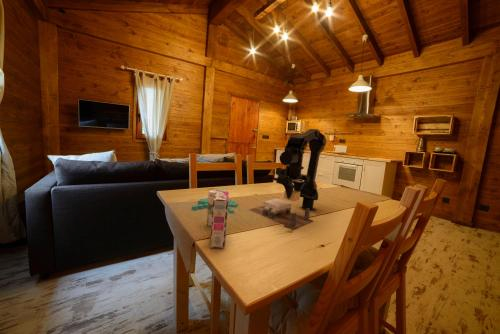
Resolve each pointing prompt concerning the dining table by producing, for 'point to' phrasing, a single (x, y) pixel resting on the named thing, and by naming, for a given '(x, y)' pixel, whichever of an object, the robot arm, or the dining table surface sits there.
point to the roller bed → (284, 216)
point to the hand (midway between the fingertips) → (291, 197)
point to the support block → (293, 196)
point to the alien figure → (204, 204)
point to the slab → (277, 204)
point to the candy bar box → (219, 220)
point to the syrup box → (211, 205)
